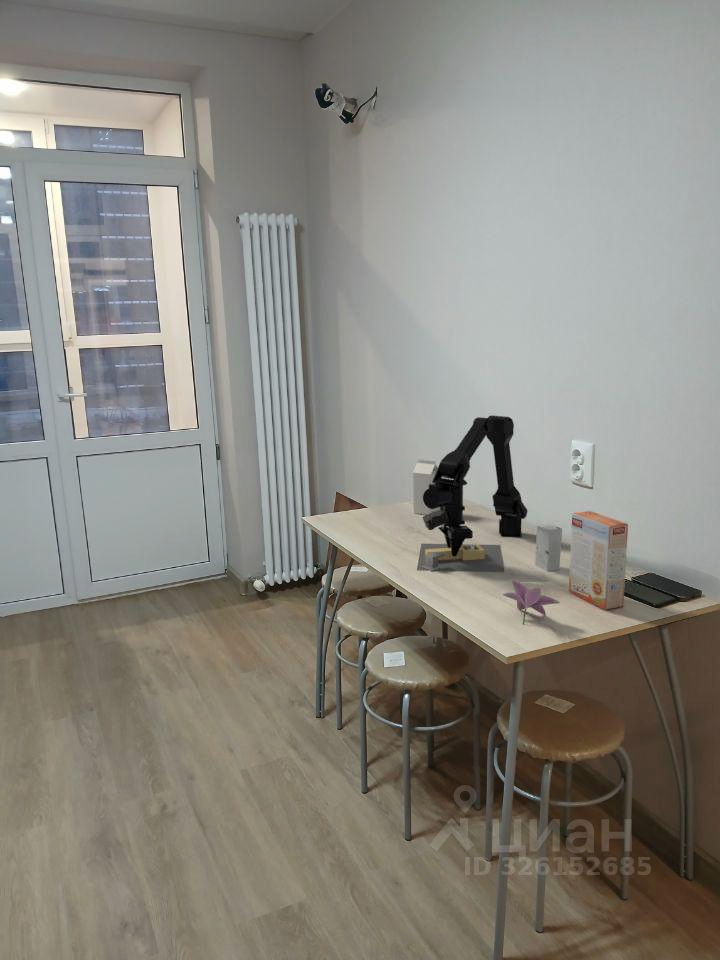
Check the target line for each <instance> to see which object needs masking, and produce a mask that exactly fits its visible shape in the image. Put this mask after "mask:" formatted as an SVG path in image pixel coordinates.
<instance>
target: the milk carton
mask: <svg viewBox="0 0 720 960" xmlns="http://www.w3.org/2000/svg"><path fill="white" fill-rule="evenodd" d="M436 462H437V461H436V460H424V459H417V463H416V465H415V467H414V470H413V471H412V485H413V486H412V490H413V491H412V492H413V493H412V498H413V500H412V501H413V503H412V507H413V510H412V511H413V514H419V515H424V516H425V515H427V514H430V513H432V512H435V511H438V510H440V507H438V508H435V509H430V508H428V507H427V506H426V505H425V504H424V501H423V495H424V492H425V491H426V490H427V489H429V484H435V483H433V482H432V481H433V478H434V476H435V474H436V471H437V469H438V466H437V464H436Z"/></svg>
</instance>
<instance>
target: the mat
mask: <svg viewBox="0 0 720 960" xmlns="http://www.w3.org/2000/svg"><path fill="white" fill-rule="evenodd" d="M469 544H470V543H467V544H465V543H462V545H469ZM477 544H478V543H477ZM478 545H479V546H480V547H482V548H483V549H484V550H485V559H477V560H462V559H451V560H438V567H439V568H440V569H439V570H436V571H435V572H474V573H475V572H476V573H477V572H478V573H479V572H480V573H481V572H482V573H483V572H485V573H505V565H504V560H503V554H502V548H501V545H500V544H480V543H479V544H478ZM438 548H448V547H447V543H420V550H419V554H418V555H419V556H418V561H417V568H416V571H422V572H423V571H427V572H428V571H429V570H426V569H423V568H421V567H422V566H425V549H438ZM429 572H430V571H429Z"/></svg>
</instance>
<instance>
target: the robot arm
mask: <svg viewBox="0 0 720 960" xmlns="http://www.w3.org/2000/svg"><path fill="white" fill-rule="evenodd" d="M514 427H515V424H514V420H513V419H512V418H511V416H504V415H493V414H492V415H489V416H488V417H482V416H481V417H479V416H478V417H475V418H474V420H473V422H472V425H471V427H470V428H469V430H468V431H467V433H466V434H465V435H464V437H463V438H462V440H461V442H460V443H459V444H458V445H457V447H456V448H455V450H453V451H451V452H449V453H447V454H446V455H445V456H444V457H443V458H442V459H441V460H440V462H439V465H438V466H437V467H438V469H437V471H436V474H435V476H434V478H433V481H432V482H433V483H435V484H429V489H427V490H426V491H425V492H424V495H423V501H424V504H425V505H426V506H427V507H428V508H430V509H435V508H438V507H440V510H438V511H435V512H432V513H430V514H427V515H425V514H424V516H423V515H422V520H423V523H424V525H425V528H427V530H428V531H433V530H435V529H436V528H437V527H438V530H439V531H440V532H441V533H442V534H444V535H443V536H444V539H445V544H447V547H448V548H451V552H452V556H456V555H457V553H458V551H459V549H460V547H461V545H462V544H464V541H465V540H466V539H467V540H468V539H470V540H471V539H473V537H474V536H473V535H474V534H473V532H474V531H473V530H472V529H471V528H470V527H468V526H467V524H466V521H465V519H464V516H463V515H464V513H463V512H464V511H466V506H464V486H466V485H468V482H467V481H466V480H465V478H466V477H467V474H468V472H469V470H470V468H471V463H470V462H471V459H472V457H473V456H474V454H475V453H476V451H477V450H478V448H479V447H480V445H481V444H482V442H483V441H484V439H485V438H487V440H488V441H489V442H490V443H491V445H492V447H493V448H492V449H493V456H494V465H495V473H496V482H497V483H496V484H497V489H496V492H495V493H494V494H492V502H493V503H492V504H493V505H492V507H494V513H495V516H499V517H500V518H499V519H498V534H499V535H500V537H502V538H523V534H522V520H525V519H526V517H527V516H528V508H527V507H526V506H525V504H524V503H523V501H522V496H521V493H520V491H519V490H518V488H516V486H515V482H514V472H513V464H512V454H511V448H510V446H511V445H510V442H511V440H512V438H513V436H514Z"/></svg>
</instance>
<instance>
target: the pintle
mask: <svg viewBox="0 0 720 960" xmlns="http://www.w3.org/2000/svg"><path fill="white" fill-rule="evenodd" d="M468 544H469V545H467V550H474V545H472V544H473V543H471V544H470V543H468Z"/></svg>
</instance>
